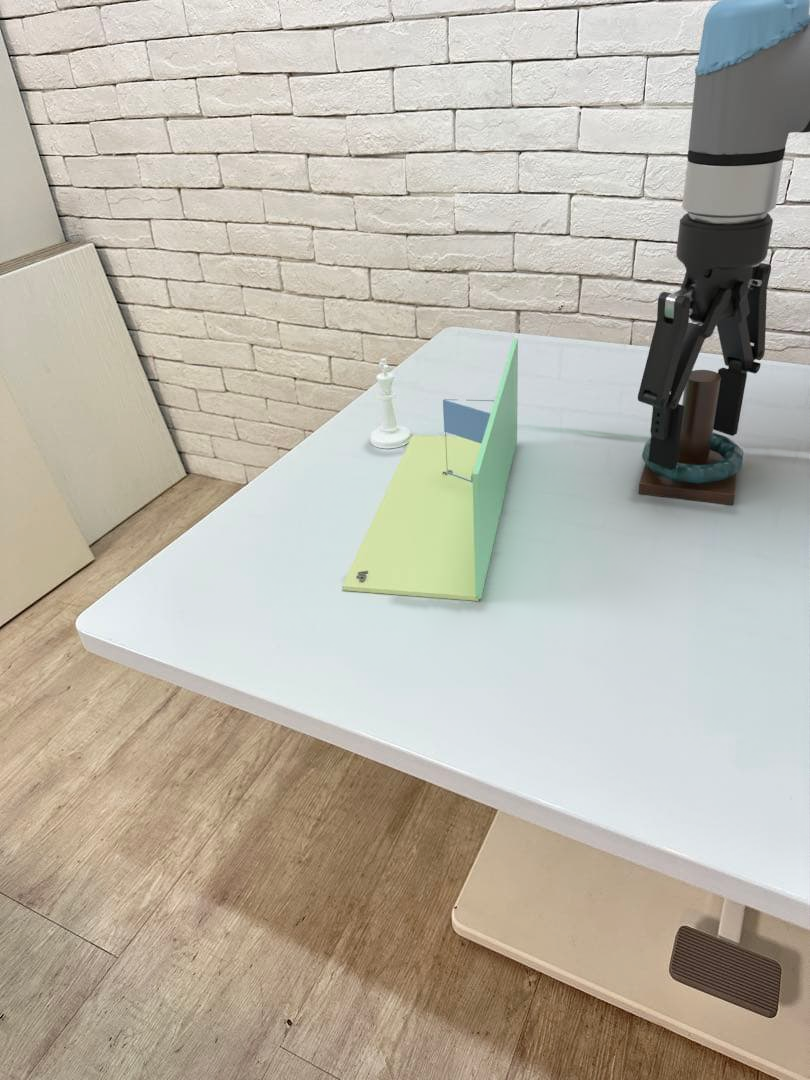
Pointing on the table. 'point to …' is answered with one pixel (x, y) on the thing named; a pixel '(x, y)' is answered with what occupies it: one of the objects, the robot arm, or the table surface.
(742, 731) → the table surface
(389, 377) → the chess piece
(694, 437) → the stand
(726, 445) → the ring
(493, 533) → the display stand
